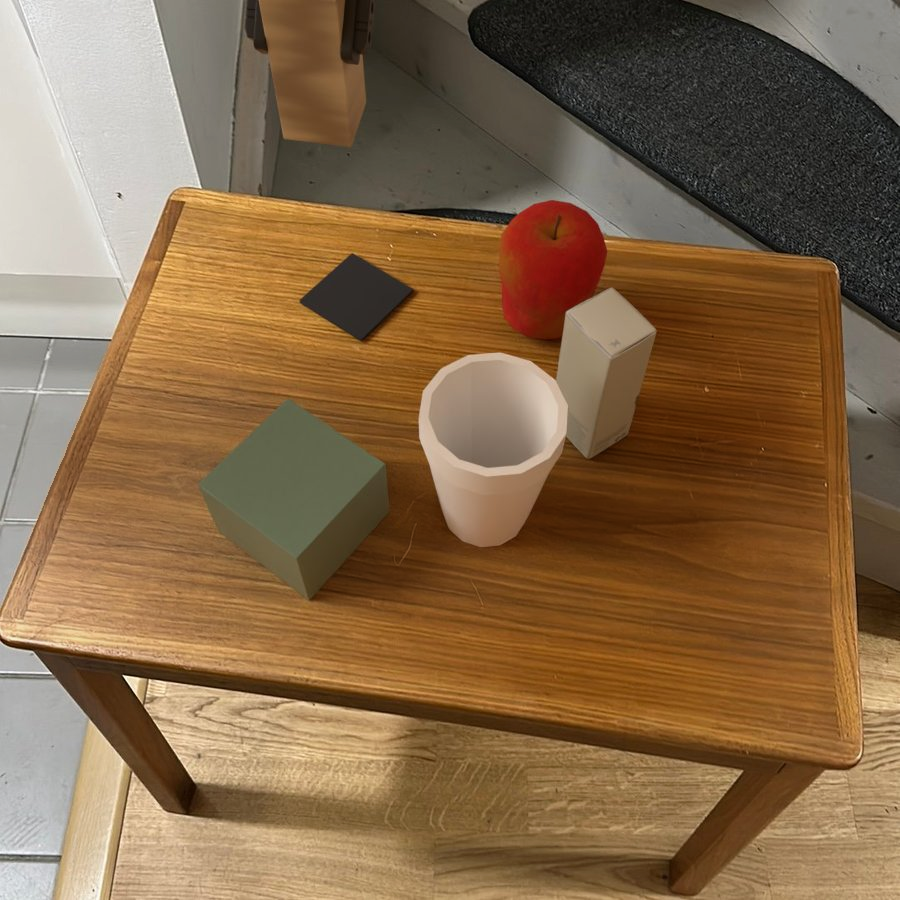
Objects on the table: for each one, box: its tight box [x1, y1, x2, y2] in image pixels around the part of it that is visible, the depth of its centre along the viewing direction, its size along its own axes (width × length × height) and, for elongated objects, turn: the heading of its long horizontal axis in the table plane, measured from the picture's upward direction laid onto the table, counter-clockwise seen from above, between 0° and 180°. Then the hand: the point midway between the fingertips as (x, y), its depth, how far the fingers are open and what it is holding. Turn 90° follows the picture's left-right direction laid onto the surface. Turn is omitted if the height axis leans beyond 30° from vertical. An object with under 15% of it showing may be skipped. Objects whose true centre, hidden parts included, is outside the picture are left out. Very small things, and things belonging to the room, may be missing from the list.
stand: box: [197, 397, 390, 601], centre depth 65 cm, size 9×9×7 cm
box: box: [555, 287, 657, 460], centre depth 68 cm, size 5×4×13 cm
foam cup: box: [418, 351, 568, 548], centre depth 64 cm, size 10×9×13 cm
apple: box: [498, 199, 608, 340], centre depth 74 cm, size 9×8×12 cm
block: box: [259, 0, 367, 148], centre depth 56 cm, size 4×4×10 cm
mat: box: [299, 252, 415, 343], centre depth 80 cm, size 7×7×1 cm
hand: (307, 55), depth 54 cm, fingers closed on block, 4 cm apart
